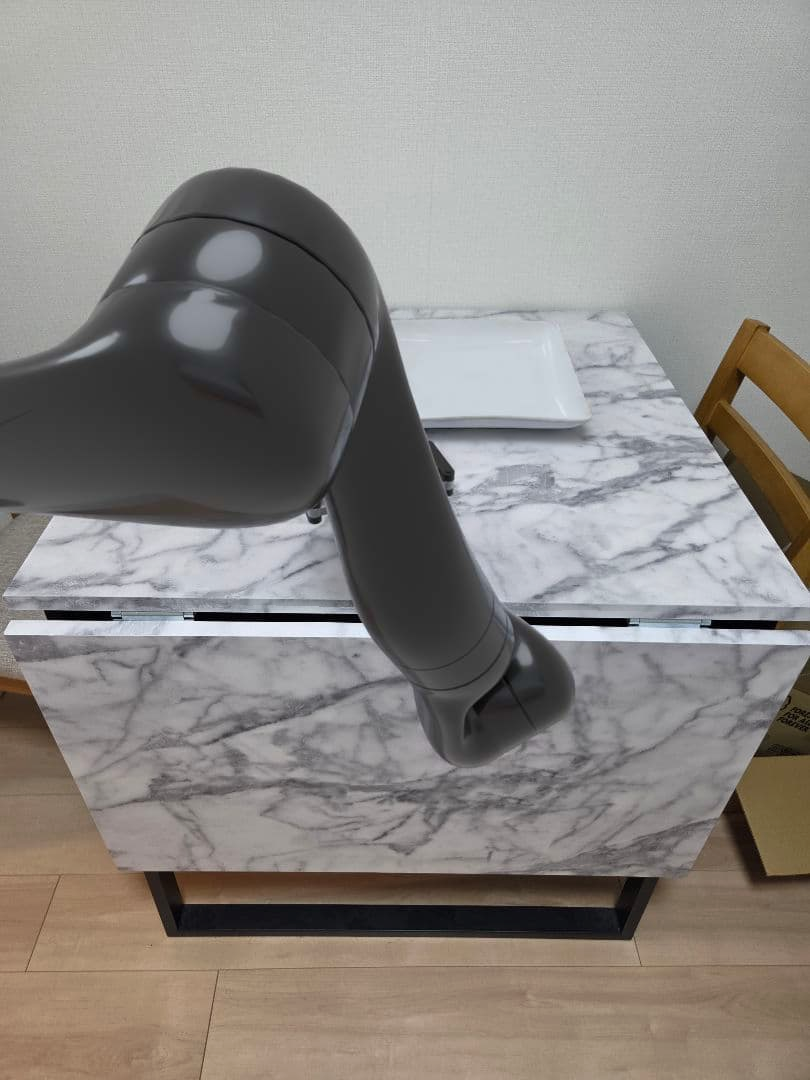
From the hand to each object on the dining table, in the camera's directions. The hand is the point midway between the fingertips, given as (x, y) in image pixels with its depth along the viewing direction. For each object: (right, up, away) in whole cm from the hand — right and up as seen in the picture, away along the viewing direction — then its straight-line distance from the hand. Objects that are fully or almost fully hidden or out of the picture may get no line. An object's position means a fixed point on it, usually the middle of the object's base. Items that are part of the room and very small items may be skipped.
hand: (350, 437), depth 73 cm
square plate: (+15, +11, +30) cm, 35 cm away
